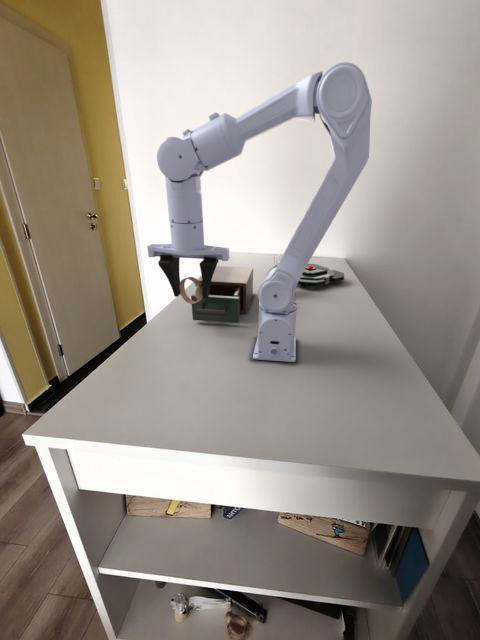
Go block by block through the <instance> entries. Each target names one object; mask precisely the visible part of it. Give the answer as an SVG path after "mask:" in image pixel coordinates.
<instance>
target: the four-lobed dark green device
mask: <svg viewBox="0 0 480 640" xmlns="http://www.w3.org/2000/svg"><path fill="white" fill-rule="evenodd" d="M344 280H345V273H344V272H342V271H339V270H336V269H330V268H329V267H328V266H323V265H320V264H317V263H308V264H307V265H306V267H305V269H304V272H303V274H302V276H301V278H300V280H299V282H298V285H299V286H301V287H308V288H309V287H310V288H318V287H321V286H325V285H329V284H330V283H339V282H342V281H344ZM298 285H297V286H298Z"/></svg>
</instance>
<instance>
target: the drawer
mask: <svg viewBox="0 0 480 640" xmlns="http://www.w3.org/2000/svg"><path fill="white" fill-rule="evenodd" d="M202 287H203V286H202ZM190 299H191V300H193V301H197V300H198V299H197V298H196V297H195V293H192V294H191V295H190ZM242 304H243V286H228V285H211V284H210V291H209V296H208V298H203V299H202V300H200V301H199V302H197V303H195V304H191V312H192V313H191V314H192V321H201V322H213V323H214V322H216V323H230V324H239V323H240V313H239V312H240V309H241V307H242Z"/></svg>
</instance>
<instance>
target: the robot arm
mask: <svg viewBox="0 0 480 640" xmlns="http://www.w3.org/2000/svg"><path fill="white" fill-rule="evenodd" d="M372 105H373V100H372V96H371V92H370V89H369V86H368V82H367V77H366V76H365V73H364V71H362V69H361V68H360V67H359V66H358V65H357V64H354V63H353V62H348V61H342V62H338V63H335V64H334V65H332V66H330V67H329V68H328V69H327V70H326V71H325V72H323V70H320V71H317V72H314V73H311V74H310V75H308V76H306V77H304V78H303V79H300V80H299V81H297V82H295V83H294V84H292V85H291V86H289V87H287V88H285V89H283V90H282V91H280V92H278V93H277V94H275V95H274V96H272V97H270V98H269V99H268V98H267V99H266V100H265V101H263V102H262V103H260V104H257V106H255V107H253V108H252V109H249V110H248V111H247V112H245V113H243V114H242V115H239V116H238V117H234V116H232V115H231V114H228V113H227V112H226V113H225V112H224V113H222V114H220V113H218V112H213V113H212V114H210V115H209V116H208V119H209V120H208V122H206V123H204V124H202V125H200V126H198V127H196V128H194V129H192V130H191V129H188V128H187V129H185V130H183V131H182V138H180V137H176V136H169V137H167V138H166V139H165V140H164V141H163V142H162V143H161V144H160V145H159V147H158V149H157V153H156V161H157V166H158V168H159V170H160V172H161V173H162V175H163V176H164V178H165V189H166V190H165V191H166V201H167V211H168V222H169V229H170V241H171V243H162V244H161V243H150V244H149V245H147V254H148V258H156V257H159V260H158V261H157V264H158V266H159V268H160V269H161V270H162V272H163V274H164V275H165V277H166V278H167V280H168V282H169V285H170V287H171V290H172V292H173V296H174V297H176V298H178V297H179V296H181V293H180V288H179V285H180V282H181V278H180V276H181V275H180V258H181V259H196V260H197V259H199V260H201V261H200V262H199V269H200V273H201V276H202V283H203V298H208V296H209V291H210V284H211V280H212V277H213V274H214V271H215V268H216V266H218V263H219V261H222V262H228V261H229V260H230V247H221V246H214V245H207V244H205V233H204V232H205V231H204V214H203V213H204V212H203V197H202V181H201V177H202V175H203V174H204V172H209V171H210V170H212V169H214V168H217V167H218V166H220V165H223V164H225V163H227V162H229V161H231V160H233V159H235V158H237V157H239V156H241V155H242V154H243V152H244V148H245V145H246V143H247V142H248V141H250V140H252V139H255V138H257V137H259V136H261V135H264V134H266V133H268V132H271V131H273V130H274V129H276V128H279V127H281V126H283V125H286V124H288V123H291V122H293V121H302V122H307V123H316V115H319V118H320V121H321V123H322V124H323V126H324V128H325V130H326V131H327V133H328V135H329V137H330V138H329V140H330V144H331V148H332V152H333V161H332V162H331V164H330V166H329V168H328V170H327V172H326V173H325V175H324V178H323V179H322V181H321V183H320V185H319V187H318V188H317V191H316V192H315V194H314V195H313V197H312V199H311V201H310V204H309V206H308V207H307V209H306V211H305V212H304V214H303V216H302V218H301V220H300V222H299V224H298V226H297V228H296V229H295V231H294V233H293V234H292V237H291V238H290V240H289V243H288V244H287V246H286V248H285V250H284V252H283V253H282V254H281V256H282V257H281V256H280V260H279V261H277V262H276V263H275V264H274V266H272V267H270V269H269V270H267V272H266V274H265V277H264V280H263V281H262V282H261V284H260V285H259V287H258V290H257V299H258V318H257V319H258V321H257V322H258V323H257V324H258V325H257V337H256V342H255V346H254V349H253V353H252V359H253V360H260V361H261V360H262V361H272V362H273V361H275V362H287V363H295V362H296V359H297V357H296V356H297V355H296V354H297V352H296V351H297V338H296V325H297V314H298V301H296V298H295V294H296V289H297V287H298V282H299V280H300V278H301V276H302V274H303V272H304V269H305V267H306V265H307V264H309V262H310V260H311V259H312V257H313V255H314V253H315V252H316V250H317V249H318V248H319V245H320V243H321V242H322V240H323V238H324V237H325V236H326V233H327V231H328V230H329V228H330V227H331V225H332V223H333V221H334V219H336V216H337V214H338V213H339V212H340V210H341V208H342V206H343V204H344V203H345V202H346V199H347V198H348V196H349V194H350V193H351V191H352V190H353V188H354V185H355V184H356V182H357V180H358V179H359V177H360V176H361V174H362V172H363V170H364V169H365V167H366V165H367V164H368V160H369V158H370V143H371V141H370V139H371V115H372Z"/></svg>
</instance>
